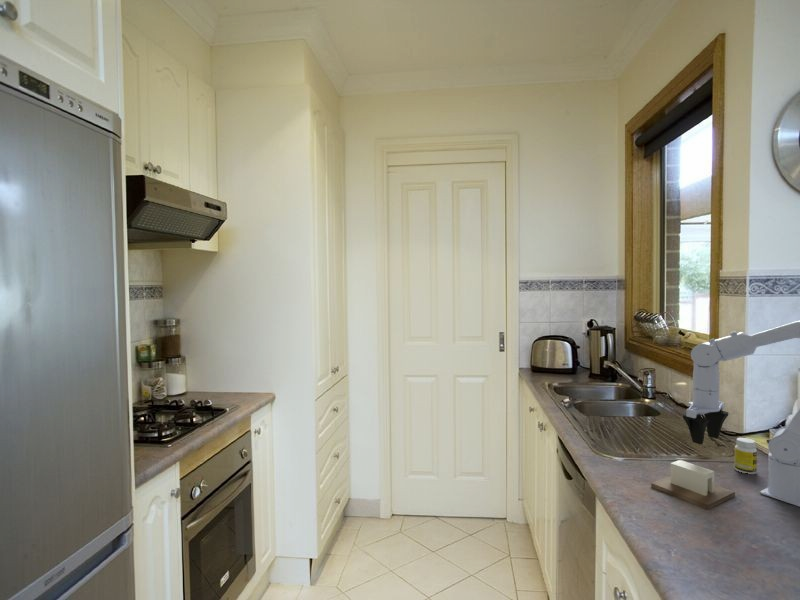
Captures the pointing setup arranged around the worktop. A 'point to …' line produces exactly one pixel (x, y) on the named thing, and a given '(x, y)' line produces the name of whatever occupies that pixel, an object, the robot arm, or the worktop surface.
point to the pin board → (694, 493)
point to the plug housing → (692, 477)
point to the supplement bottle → (745, 456)
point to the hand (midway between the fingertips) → (705, 440)
